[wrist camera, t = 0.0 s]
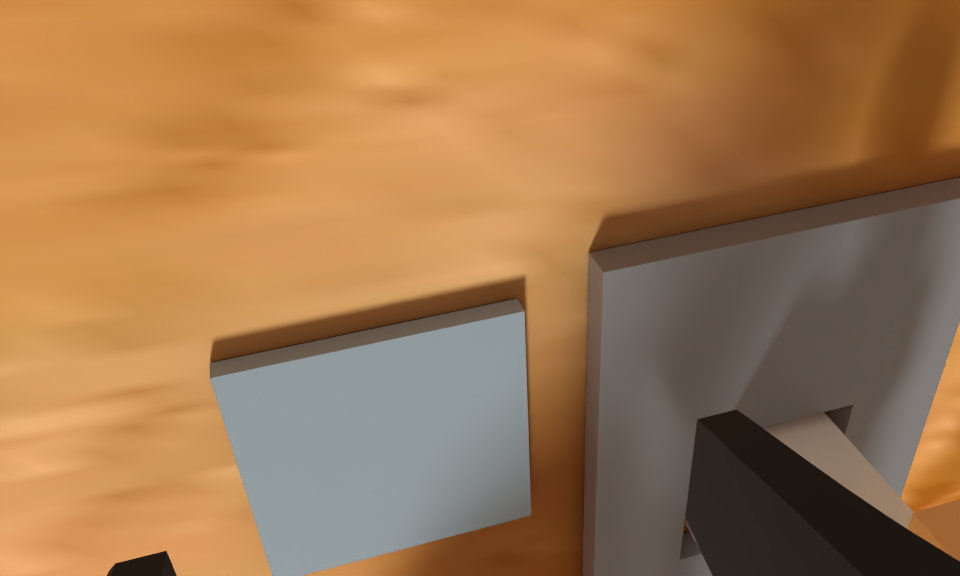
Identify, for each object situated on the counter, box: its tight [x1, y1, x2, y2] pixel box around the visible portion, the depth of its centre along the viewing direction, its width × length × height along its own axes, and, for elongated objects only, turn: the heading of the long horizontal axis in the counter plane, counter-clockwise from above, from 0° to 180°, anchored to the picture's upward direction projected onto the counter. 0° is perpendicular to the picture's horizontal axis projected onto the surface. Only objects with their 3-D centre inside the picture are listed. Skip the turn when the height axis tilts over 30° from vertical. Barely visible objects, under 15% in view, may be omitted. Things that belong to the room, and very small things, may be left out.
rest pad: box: [210, 299, 531, 576], centre depth 24 cm, size 8×8×1 cm
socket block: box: [582, 177, 960, 576], centre depth 27 cm, size 23×12×7 cm, turn 3°
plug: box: [684, 412, 914, 547], centre depth 26 cm, size 4×4×7 cm
